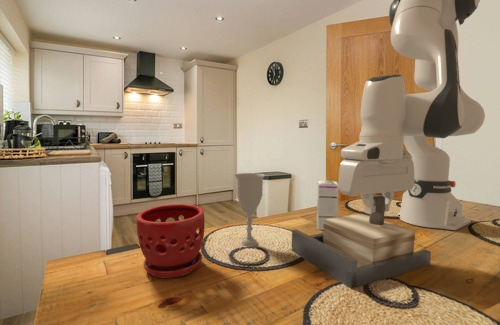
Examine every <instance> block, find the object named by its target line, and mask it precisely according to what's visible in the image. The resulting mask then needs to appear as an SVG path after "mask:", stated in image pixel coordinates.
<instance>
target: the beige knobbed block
mask: <svg viewBox="0 0 500 325" xmlns="http://www.w3.org/2000/svg"><path fill="white" fill-rule="evenodd" d="M371 200H372V203H373V205H374V206H376V209H375V210H376V212H375V213H373V214H369V215H367V214H363V213H357V214H350V215H344V216H338V217H336V218H329V219H324V225H323V228H324V230H323V232H322V233H323V243H324V244H326V245H328V246H330V247H332V248H334V249H336V250H338V251H340V252H342V253H344V254H346V255H347V256H349V257H351V258H353V259H355V260H357V267H361V266H364V265H368V264H372V263H376V262H380V261H384V260H387V259H391V258H395V257H399V256H403V255H407V254H410V253H414V252H415V251H414V250H415V241H416V230H414V229H411V228H408V227H405V226H403V225H399V224H396V223H392V222H390V221H389V222H388V221H386V220H385V197H384V195H376V194H373V199H371Z"/></svg>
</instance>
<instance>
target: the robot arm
mask: <svg viewBox="0 0 500 325" xmlns="http://www.w3.org/2000/svg"><path fill="white" fill-rule="evenodd" d="M480 1H481V0H392V2H391V4H390V5H389V6H390V7H389V14H388V18H389V22H390V23H389V24H390V27H391V30H390V44H391V46H392V48H393V50H394V51H395V52H396V53H397V54H399V55H400V56H402V57H405V58H408V59H411V60H414V76H413V80H414V83H415V85H416V86H417V87H419V88H421V89H422V90H425V91H428V92H418V93H407V94H406V82H405V78H404V76H403V75H400V74H389V75H380V76H374V77H370V78H368V79H367V80H366V81H365V82H364V86H363V91H362V96H361V104H360V114H359V117H360V121H361V130H360V133H359V137H358V138H359V140H358V141H355V143H352V144H350V145H348V146H344V147H343V148H342V149H341V150H340V158H342V161H341V162H340V164H339V170H338V181H337V183H338V186H339V190H338V191H339V192H340V194H342V195H346V196H349V197H356V196H357V197H358V196H360V198H361V200H362V202H363V204H364V213H365V214H369V215H370V214H373V213H375V212H376V210H375V209H376V206H374V205H373V203H372V200H371V199H373V195H376V194H381V196H384V197H385V212H389V211H390V206H391V204H392V201H393V199H394V198H395V193H396V192H402V191H403V194H402V199H401V204H400V211H397V214H399V215H400V216H399V219H400V220H401V221H403V222H405V223H407V224H410V225H413V226H418V227H424V228H429V229H431V228H432V229H441V230H442V229H443V230H444V229H445V230H450V231H451V230H452V231H457V230H458V229H461V228H464V226H467V225H469V224H470V223H472V221H471V219H470V218H468V217H465V216H463V204H462V203H461V201H460V200H458V198H456V197H455V196H454V195H453V193H452V188H456V187H457V186H456V185H457V183H456V181H455V180H449V174H450V162H451V159H450V156H449V154H448V153H447V152H446V151H445V150H443V149H441V148H439V147H436V146H435V145H433V144H431V143H430V142H429V138H436V139H446V138H448V137H459V136H465V135H472V134H475V133H476V132H477V131H479V130H480V128H481V127H482V126H483V124H484V123H485V119H486V118H485V116H486V115H485V110H484V108H483V106H482V105H481V103H479V102H478V101H477V100H475V99H473V98H472V97H470V96H469V95H468V94H467V93H466V92H465V91H464V90H463V88H462V86H461V84H460V83H461V82H460V71H459V70H460V68H459V60H458V59H459V58H458V57H459V56H458V55H459V32H458V24H459V26H462V25H463V24H464V22H465V20H466V19H468V18H469V17H471V15H473V14H474V12H475V11H476V10H477V9H478V8H479V3H480ZM457 21H458V24H457ZM404 146H405V149H404ZM385 212H384V213H385Z"/></svg>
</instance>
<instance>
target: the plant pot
mask: <svg viewBox="0 0 500 325" xmlns="http://www.w3.org/2000/svg"><path fill="white" fill-rule="evenodd" d="M180 216H182V217H183V219H181V220H180ZM169 218H171V219H172V220H173V221H167V220H168V219H169ZM157 220H160V221H158V222H157ZM197 230H198V231H197ZM136 232H137V239H138V243H139V247H140V250H141V253H142V255H143V256H144V261H143V268H144V270H145V271H146V272H147V273H148V274H150V275H151V276H153V277H156V278H157V277H158V278H162V279H171V278H178V277H183V276H186V275H188V274H190V273H192V272H193V271H195V270H197V268H199V266H200V265H201V263H202V260H203V255H202V253H201V252H200V250H201V248H202V245H203V243H204V242H203V241H204V236H205V212H204V209H203V208H202V207H200V206H197V205H193V204H184V203H175V204H163V205H159V206H158V205H157V206H153V207H150V208H147V209H144V210H143V211H141V212H139V213H138V214H137V215H136Z"/></svg>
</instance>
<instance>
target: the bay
mask: <svg viewBox="0 0 500 325" xmlns="http://www.w3.org/2000/svg"><path fill="white" fill-rule="evenodd" d="M323 233H324V232H321V233H316V234H311V235H308V234H306V233H304V232H302V231H300V230H299V229H291V251H292V252H293V253H295V254H296V255H298V256H299V257H301V258H302V259H303V260H305V261H307V262H309V264H311V265H314V266H315V267H316V268H318V269H319V270H321V271H322V272H324V273H326V274H327V275H329V276H330V277H332V278H333V279H335V280H336V281H338V282H339V283H341V284H343V285H344V286H346V287H347V288H349V289H351V290H352V289H355V288H359V287H363V286H366V285H370V284H372V283H375V282H379V281H383V280H385V279H389V278H392V277H395V276H398V275H402V274H405V273H408V272H413V271H415V270H418V269H422V268H425V267H428V266H430V265H431V259H432V258H431V257H432V256H431V255H432V252H431V251H430V250H427V249H422V250H419V251H414V253H410V254H407V255H403V256H399V257H395V258H391V259H387V260H384V261H380V262H376V263H372V264H368V265H364V266H361V267H357V260H355V259H353V258H351V257H349V256H347V255H346V254H344V253H342V252H340V251H338V250H336V249H334V248H332V247H330V246H328V245H326V244H324V243H323Z"/></svg>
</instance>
